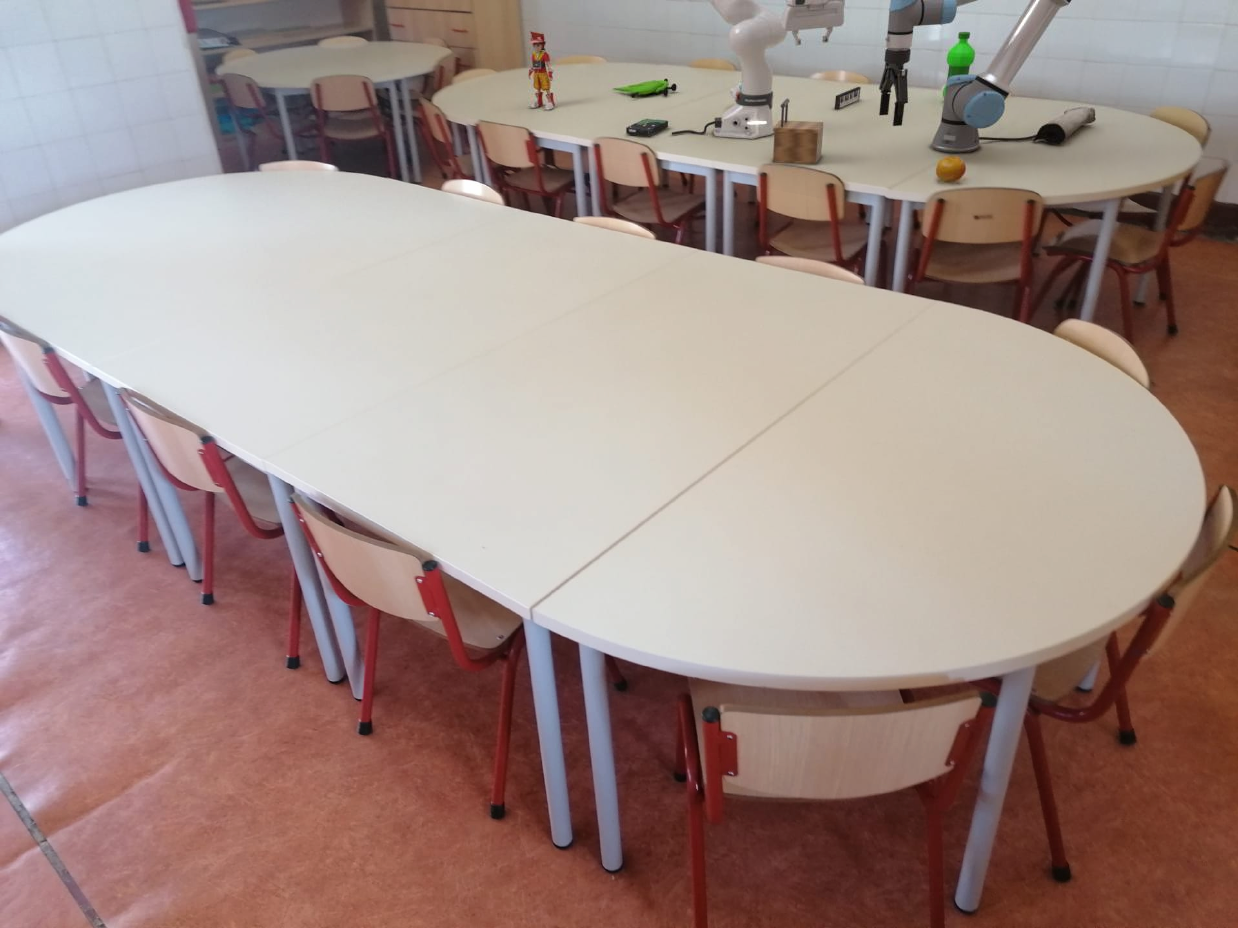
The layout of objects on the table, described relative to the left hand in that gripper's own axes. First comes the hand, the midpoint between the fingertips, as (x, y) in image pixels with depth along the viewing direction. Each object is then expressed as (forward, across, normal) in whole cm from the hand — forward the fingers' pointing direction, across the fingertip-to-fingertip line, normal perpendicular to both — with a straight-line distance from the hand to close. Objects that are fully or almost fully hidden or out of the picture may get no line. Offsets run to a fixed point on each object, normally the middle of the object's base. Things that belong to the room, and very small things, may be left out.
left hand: (811, 43), depth 294 cm
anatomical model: (+33, +3, -64) cm, 73 cm away
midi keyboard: (+34, -37, -52) cm, 72 cm away
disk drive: (+33, +48, -43) cm, 72 cm away
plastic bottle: (+34, -76, -40) cm, 92 cm away
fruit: (+34, -29, +48) cm, 66 cm away
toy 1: (+33, +82, -97) cm, 131 cm away
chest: (+34, +7, +10) cm, 36 cm away
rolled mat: (+34, -89, +15) cm, 96 cm away
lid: (+24, +7, +10) cm, 27 cm away
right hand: (+20, -18, +26) cm, 37 cm away
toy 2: (+33, +37, -108) cm, 119 cm away
